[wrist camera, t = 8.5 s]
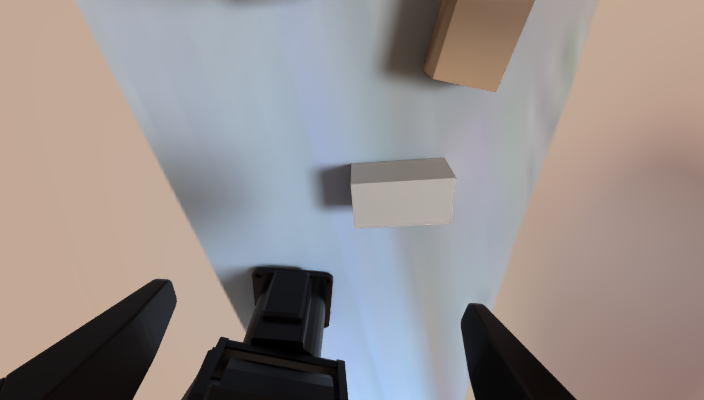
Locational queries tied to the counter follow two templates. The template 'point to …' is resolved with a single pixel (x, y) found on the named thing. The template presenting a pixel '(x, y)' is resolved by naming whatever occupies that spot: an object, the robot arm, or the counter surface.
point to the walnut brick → (475, 41)
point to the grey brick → (402, 193)
